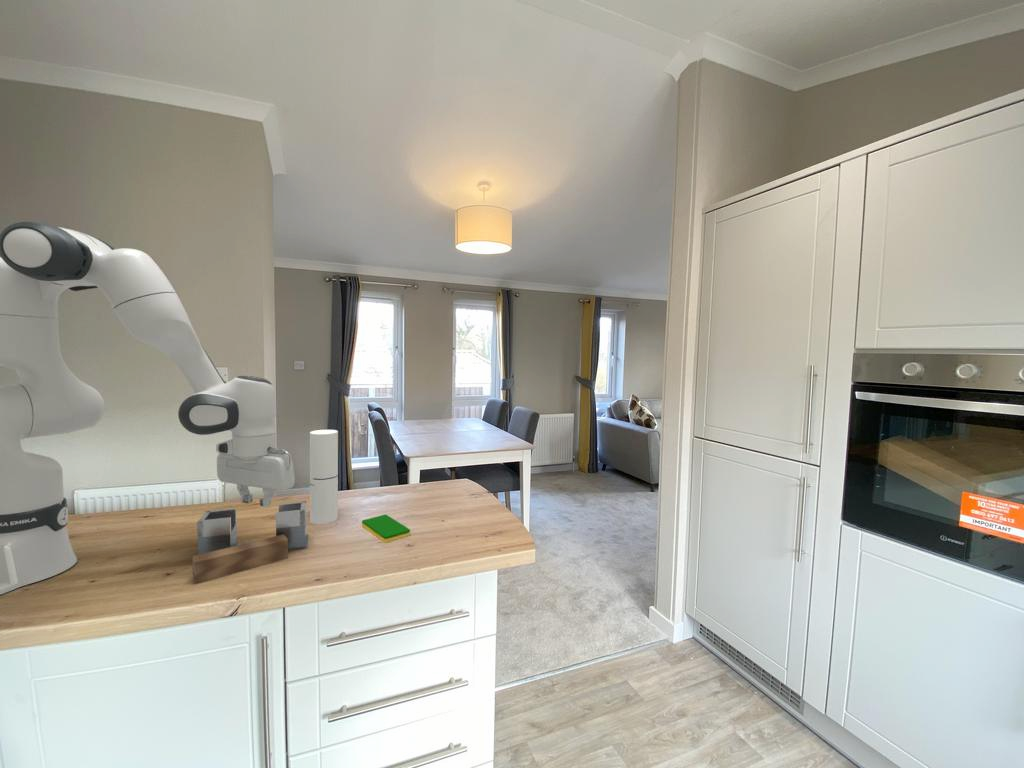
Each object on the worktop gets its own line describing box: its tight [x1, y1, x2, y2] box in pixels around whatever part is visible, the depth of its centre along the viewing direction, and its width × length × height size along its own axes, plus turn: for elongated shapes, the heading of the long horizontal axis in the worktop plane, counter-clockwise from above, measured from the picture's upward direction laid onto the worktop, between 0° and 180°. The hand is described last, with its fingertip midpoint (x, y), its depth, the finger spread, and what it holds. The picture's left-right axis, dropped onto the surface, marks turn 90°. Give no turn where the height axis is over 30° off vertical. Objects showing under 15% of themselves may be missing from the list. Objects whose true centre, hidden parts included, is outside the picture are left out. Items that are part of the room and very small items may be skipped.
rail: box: [191, 534, 289, 585], centre depth 91 cm, size 17×3×5 cm, turn 133°
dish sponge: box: [361, 514, 411, 544], centre depth 112 cm, size 7×14×2 cm, turn 43°
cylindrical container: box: [309, 429, 339, 525], centre depth 118 cm, size 7×7×25 cm
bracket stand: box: [196, 500, 310, 555], centre depth 99 cm, size 22×7×10 cm, turn 113°
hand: (256, 504), depth 99 cm, fingers open, 4 cm apart
